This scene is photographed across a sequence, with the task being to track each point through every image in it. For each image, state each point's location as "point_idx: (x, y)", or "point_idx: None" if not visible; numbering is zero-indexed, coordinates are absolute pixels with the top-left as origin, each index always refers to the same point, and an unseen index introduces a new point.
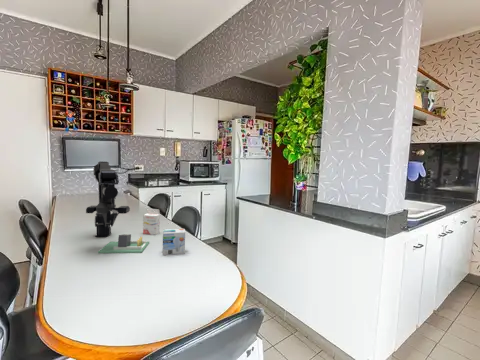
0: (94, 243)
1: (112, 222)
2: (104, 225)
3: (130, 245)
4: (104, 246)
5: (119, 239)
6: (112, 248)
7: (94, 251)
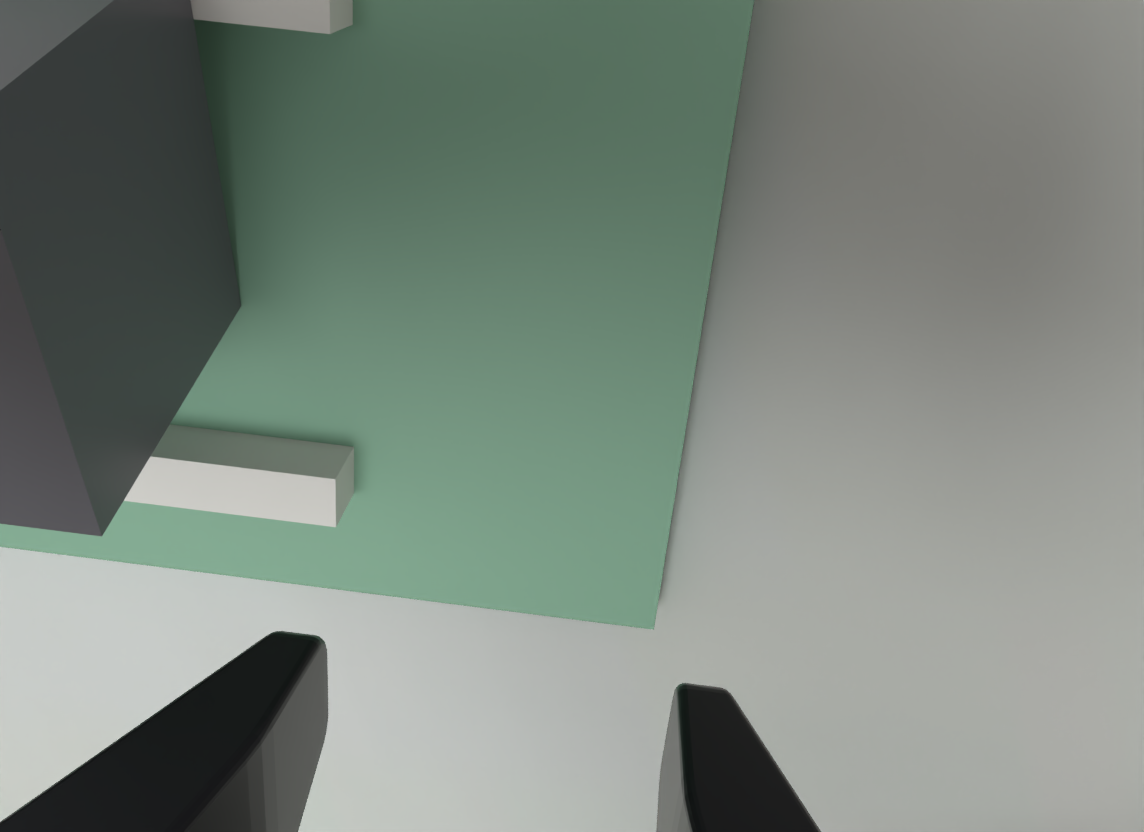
0: (1047, 635)
1: (69, 795)
2: (722, 721)
3: None
4: (708, 278)
5: (15, 35)
6: (421, 74)
7: (930, 10)
